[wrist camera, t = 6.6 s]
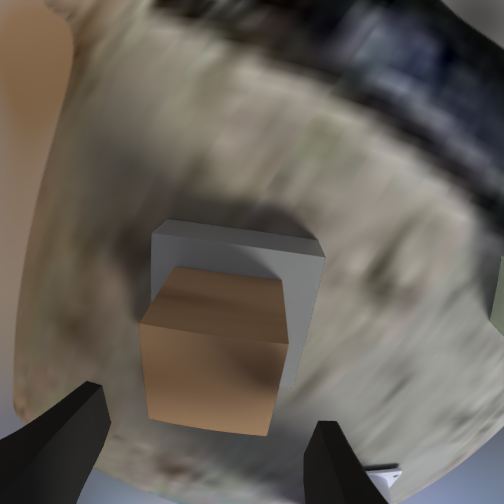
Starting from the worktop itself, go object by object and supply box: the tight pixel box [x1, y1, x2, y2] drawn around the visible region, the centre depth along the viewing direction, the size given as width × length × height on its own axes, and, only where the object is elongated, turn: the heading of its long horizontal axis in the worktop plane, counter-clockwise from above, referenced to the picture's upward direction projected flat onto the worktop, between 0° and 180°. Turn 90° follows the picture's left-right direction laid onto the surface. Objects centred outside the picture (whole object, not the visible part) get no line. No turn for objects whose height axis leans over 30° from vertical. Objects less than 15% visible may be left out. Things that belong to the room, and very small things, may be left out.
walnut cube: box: [139, 267, 289, 436], centre depth 13 cm, size 5×5×5 cm
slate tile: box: [151, 219, 326, 388], centre depth 17 cm, size 8×8×3 cm
